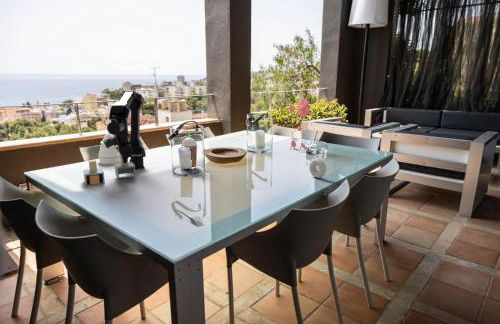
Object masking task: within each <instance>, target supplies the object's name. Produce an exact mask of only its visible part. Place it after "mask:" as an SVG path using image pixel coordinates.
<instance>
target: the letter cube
mask: <svg viewBox="0 0 500 324" xmlns="http://www.w3.org/2000/svg"><path fill="white" fill-rule="evenodd" d="M89 179H90V181H89V183H90V184H89V185H96V184H100V180H99V174H96V175H89Z"/></svg>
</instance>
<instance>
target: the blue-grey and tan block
mask: <svg viewBox="0 0 500 324" xmlns="http://www.w3.org/2000/svg"><path fill="white" fill-rule="evenodd" d="M97 165H98V164H97V160H96V159H90V160H88V167H89V169H83V170H82V171H83V179H84V184H85V185H84V186H85V187H88V183H87V182H90V179H89V175H96V174H99V181H100V180H101V181H102V183H103V184H106V181H105V172H104V169H103V168H102V167H100V168H99V167H98V166H97Z"/></svg>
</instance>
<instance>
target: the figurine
mask: <svg viewBox="0 0 500 324" xmlns="http://www.w3.org/2000/svg"><path fill="white" fill-rule="evenodd" d="M295 109H296V110H297V113H298V114H297V115H296V118H298V119H300V120H301V122H300V125H299V126H298V127H297V129H296V130H293V131H292V132H291V134H292V138H294V135H293V133H294V132H296V131H298V132H300V131H301V133H302V138H304V136H305V135H304V132H303V130H302V123H303V120H304V119H303V118H306V117H307V116H308V114H309V115H310V116H312V118H313V119H316V118H315V117H314V115H313V114H312V113H311V112H310V110H311V105H310V101H309V100H307V98H304V99H303V98H300V100H299V102H298V105H297V106H296V108H295V106H294V105H293V104H291V105H289V106H288V110H289V112H290V115H291V117H293V113H294V111H295ZM296 147H297V142H296V141H295V140H291V143H290V147H289V150H290V149H292V148H293V149H295V148H296ZM301 148H303V149H304V150H305V151H306V149H307V150H308V147H307V146H306V145H305V144H304V141H301V143H300V146H299V150H298V152H299V151H301Z"/></svg>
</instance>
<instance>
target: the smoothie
mask: <svg viewBox="0 0 500 324" xmlns="http://www.w3.org/2000/svg"><path fill="white" fill-rule="evenodd" d="M187 135H188V137H186V138H184V139H183V140H182V143H181V147H182V146H185V147H189V148H190V151H191V160H192V167H195V168H196V167H197V156H198V155H197V154H198V153H197V152H198V143H197V141H196V140H195V139H194V138H193V137H191V135H190V132H188V133H187Z"/></svg>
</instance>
